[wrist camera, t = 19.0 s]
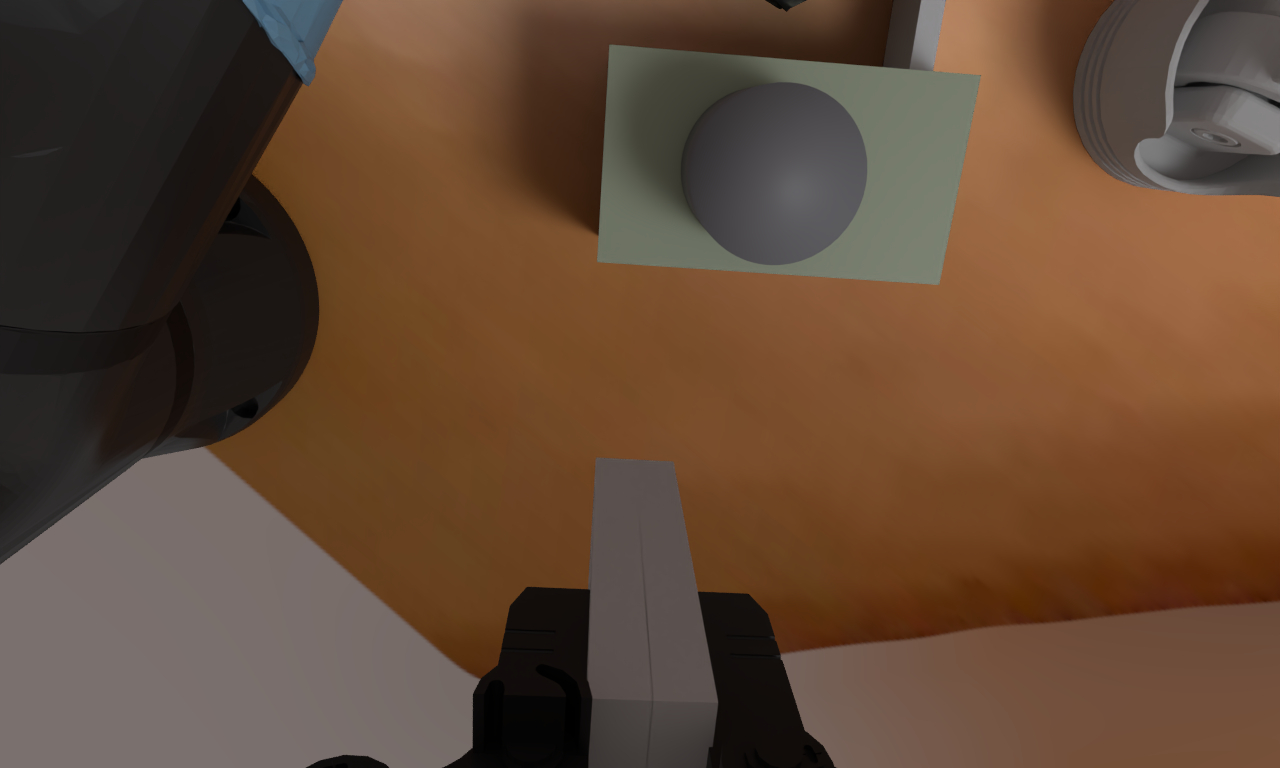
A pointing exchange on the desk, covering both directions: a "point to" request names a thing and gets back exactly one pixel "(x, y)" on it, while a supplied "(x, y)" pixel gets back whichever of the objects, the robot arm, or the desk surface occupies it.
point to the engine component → (1184, 95)
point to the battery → (785, 3)
